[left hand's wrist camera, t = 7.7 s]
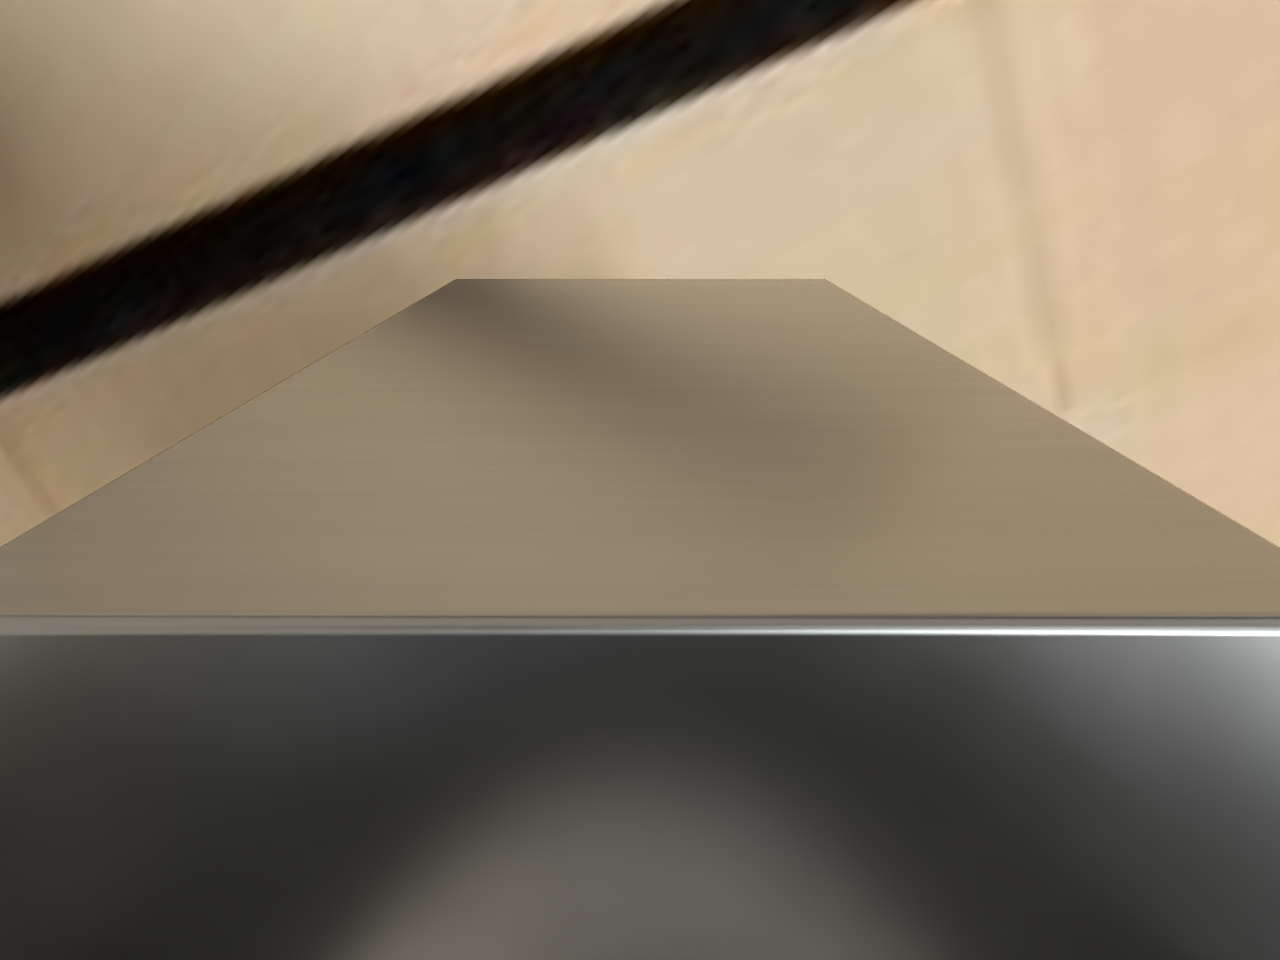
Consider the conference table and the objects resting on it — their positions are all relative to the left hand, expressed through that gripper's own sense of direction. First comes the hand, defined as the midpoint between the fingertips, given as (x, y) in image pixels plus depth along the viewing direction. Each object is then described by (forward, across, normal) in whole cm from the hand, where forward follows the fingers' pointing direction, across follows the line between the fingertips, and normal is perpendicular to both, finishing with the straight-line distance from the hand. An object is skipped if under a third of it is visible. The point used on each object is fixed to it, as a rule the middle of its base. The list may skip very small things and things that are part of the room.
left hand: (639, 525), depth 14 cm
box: (+4, 0, -9) cm, 10 cm away
